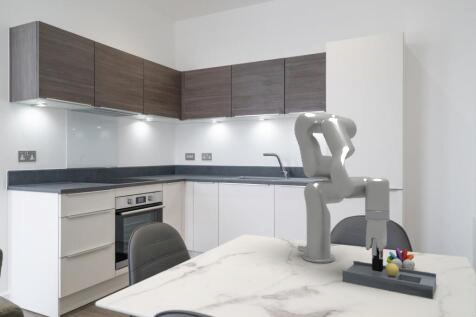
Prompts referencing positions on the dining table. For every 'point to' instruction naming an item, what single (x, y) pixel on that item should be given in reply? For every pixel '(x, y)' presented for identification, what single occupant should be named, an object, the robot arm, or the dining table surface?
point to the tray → (392, 279)
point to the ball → (392, 269)
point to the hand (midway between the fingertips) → (377, 270)
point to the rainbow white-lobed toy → (401, 259)
